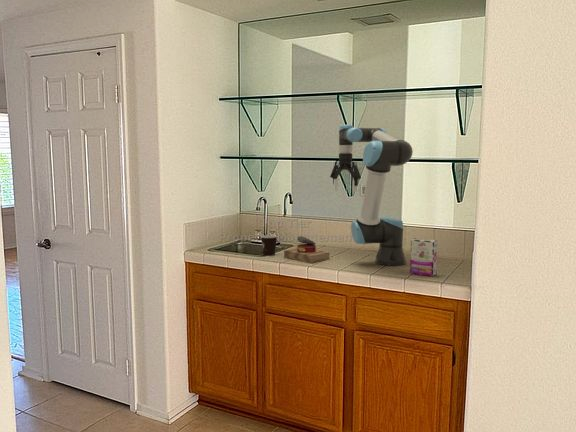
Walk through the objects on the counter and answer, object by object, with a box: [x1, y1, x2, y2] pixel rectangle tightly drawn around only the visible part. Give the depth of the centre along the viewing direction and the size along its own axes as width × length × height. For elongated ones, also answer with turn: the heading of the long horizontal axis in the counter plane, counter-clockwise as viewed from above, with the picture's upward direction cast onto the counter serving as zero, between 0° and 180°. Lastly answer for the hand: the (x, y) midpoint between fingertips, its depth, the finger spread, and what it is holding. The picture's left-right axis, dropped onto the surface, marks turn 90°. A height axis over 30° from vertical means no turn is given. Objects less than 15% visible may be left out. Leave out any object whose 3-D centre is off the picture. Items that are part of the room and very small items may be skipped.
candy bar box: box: [409, 238, 438, 277], centre depth 242 cm, size 11×5×16 cm, turn 56°
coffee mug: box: [260, 234, 278, 257], centre depth 289 cm, size 12×9×10 cm
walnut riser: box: [283, 247, 330, 264], centre depth 277 cm, size 20×14×4 cm
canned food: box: [296, 235, 317, 253], centre depth 277 cm, size 11×10×10 cm
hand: (345, 191), depth 292 cm, fingers open, 13 cm apart
